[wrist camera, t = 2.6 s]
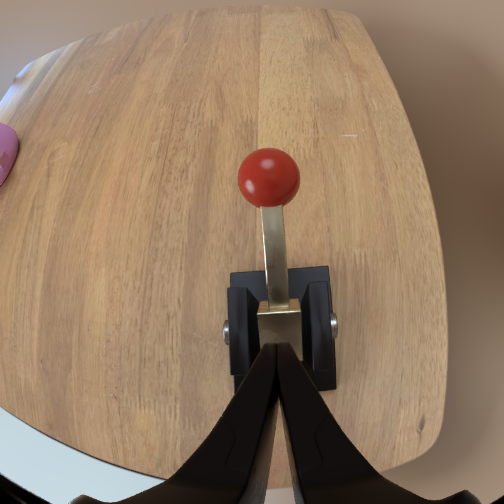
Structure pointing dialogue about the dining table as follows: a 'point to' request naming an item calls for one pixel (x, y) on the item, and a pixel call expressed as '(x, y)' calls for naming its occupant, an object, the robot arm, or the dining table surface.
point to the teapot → (7, 150)
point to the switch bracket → (313, 322)
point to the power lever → (274, 241)
